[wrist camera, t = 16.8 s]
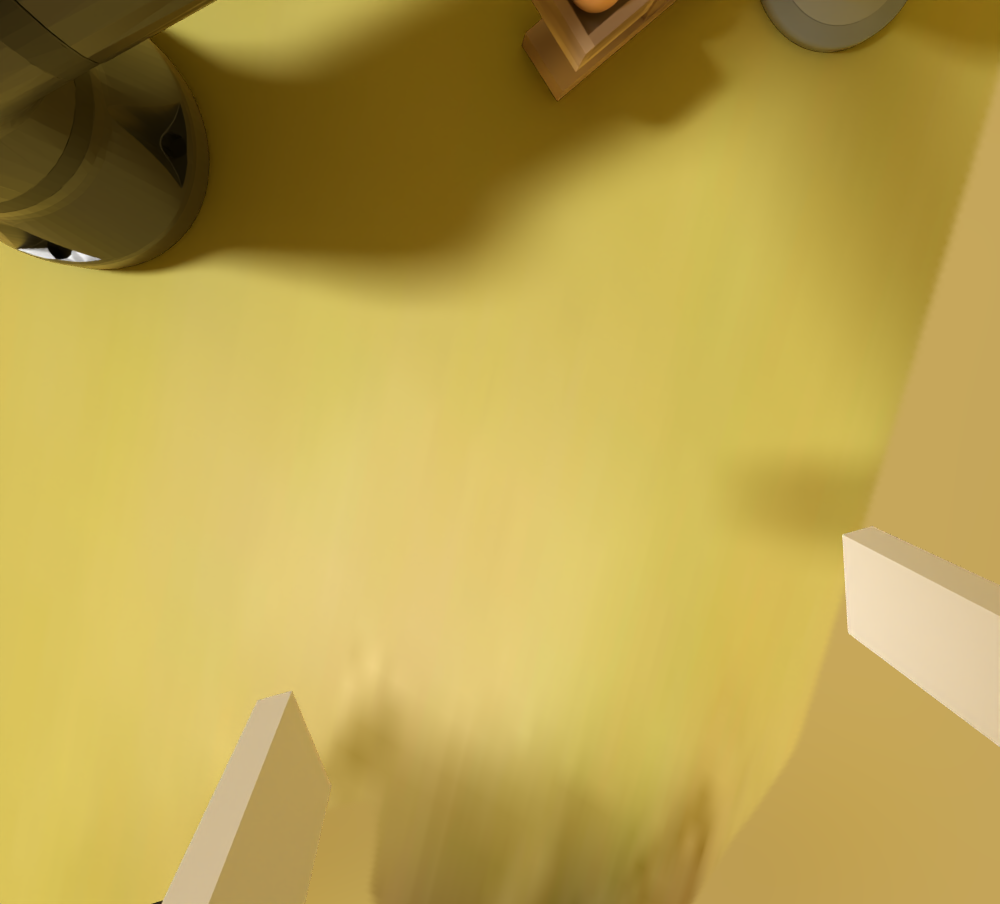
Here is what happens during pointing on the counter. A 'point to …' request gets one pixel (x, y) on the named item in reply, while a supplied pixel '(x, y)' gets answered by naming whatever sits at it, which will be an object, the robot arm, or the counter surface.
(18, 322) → the counter surface
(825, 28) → the coaster
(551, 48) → the catapult
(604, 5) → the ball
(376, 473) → the counter surface
